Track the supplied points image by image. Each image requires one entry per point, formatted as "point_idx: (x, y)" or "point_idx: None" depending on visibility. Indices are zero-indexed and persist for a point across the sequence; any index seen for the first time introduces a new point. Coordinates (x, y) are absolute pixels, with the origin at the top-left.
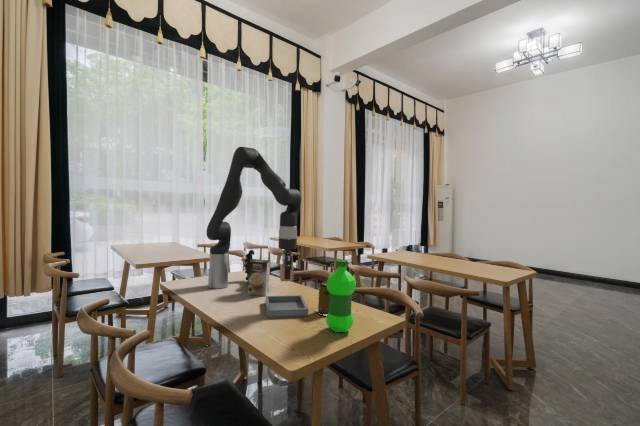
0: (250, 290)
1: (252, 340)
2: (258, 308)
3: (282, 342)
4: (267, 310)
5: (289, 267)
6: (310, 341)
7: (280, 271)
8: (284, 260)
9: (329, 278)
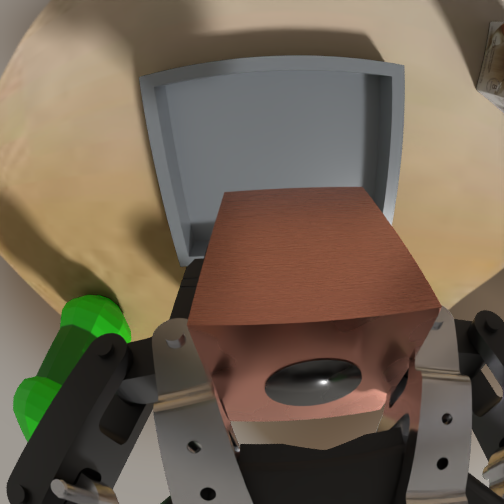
0: (501, 31)
1: (3, 90)
2: (300, 22)
3: (7, 172)
4: (139, 78)
5: (117, 392)
6: (30, 238)
7: (362, 232)
8: (170, 471)
9: (22, 415)
